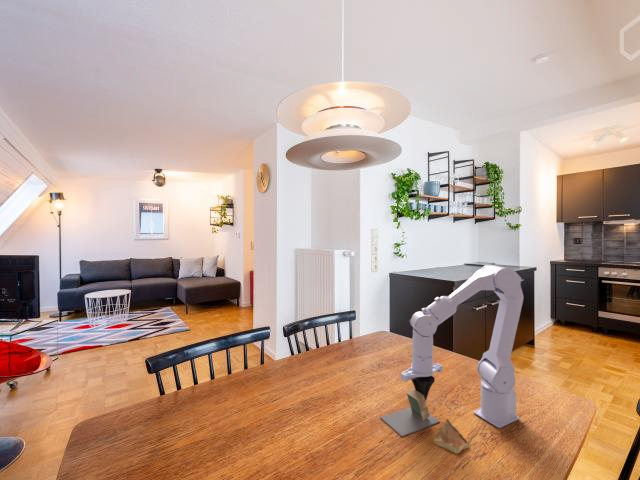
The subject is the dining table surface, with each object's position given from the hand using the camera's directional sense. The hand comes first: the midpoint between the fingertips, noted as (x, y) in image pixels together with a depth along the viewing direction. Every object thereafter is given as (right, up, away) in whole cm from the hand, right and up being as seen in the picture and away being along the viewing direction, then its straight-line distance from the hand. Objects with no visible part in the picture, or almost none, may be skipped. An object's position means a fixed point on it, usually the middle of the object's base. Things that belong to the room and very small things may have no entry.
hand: (421, 400), depth 89 cm
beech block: (0, -4, 0) cm, 4 cm away
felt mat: (-4, -5, -2) cm, 6 cm away
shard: (+3, -6, -9) cm, 11 cm away
